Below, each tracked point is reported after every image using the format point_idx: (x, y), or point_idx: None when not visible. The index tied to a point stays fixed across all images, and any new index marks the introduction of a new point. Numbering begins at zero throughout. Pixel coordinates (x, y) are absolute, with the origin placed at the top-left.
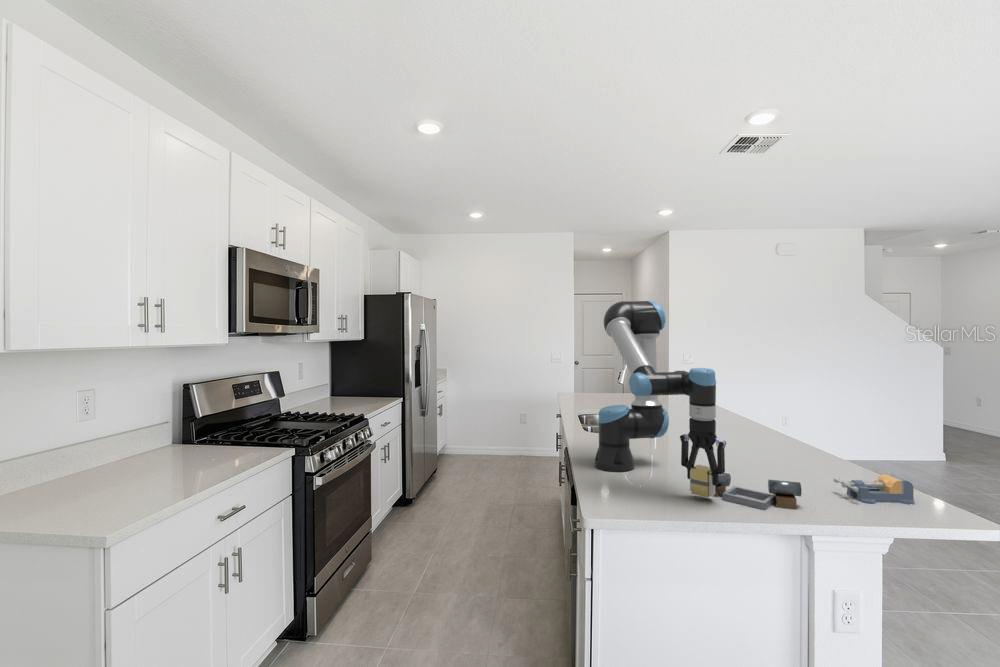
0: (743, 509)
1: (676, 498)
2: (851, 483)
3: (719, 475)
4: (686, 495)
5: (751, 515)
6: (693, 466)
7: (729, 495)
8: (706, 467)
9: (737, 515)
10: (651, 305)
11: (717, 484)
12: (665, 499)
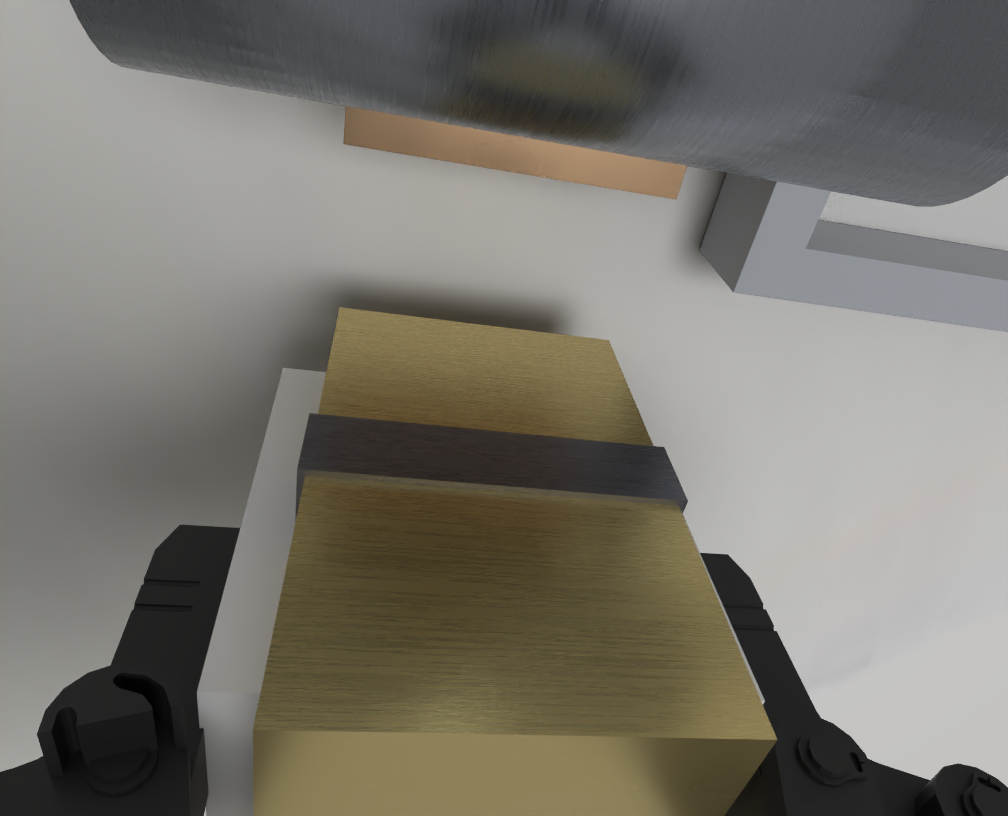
0: (922, 430)
1: (176, 522)
2: None
3: (802, 154)
4: (212, 360)
5: (967, 530)
6: (189, 776)
7: (830, 299)
8: (579, 805)
9: (837, 591)
10: None
11: (727, 561)
12: (102, 605)
